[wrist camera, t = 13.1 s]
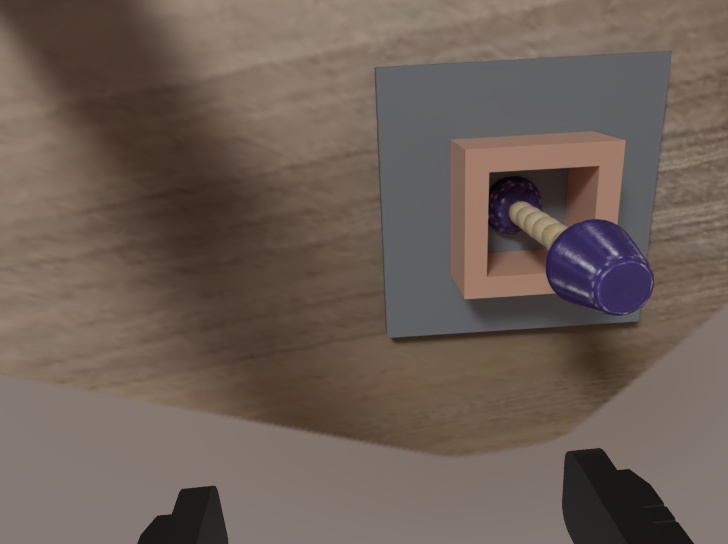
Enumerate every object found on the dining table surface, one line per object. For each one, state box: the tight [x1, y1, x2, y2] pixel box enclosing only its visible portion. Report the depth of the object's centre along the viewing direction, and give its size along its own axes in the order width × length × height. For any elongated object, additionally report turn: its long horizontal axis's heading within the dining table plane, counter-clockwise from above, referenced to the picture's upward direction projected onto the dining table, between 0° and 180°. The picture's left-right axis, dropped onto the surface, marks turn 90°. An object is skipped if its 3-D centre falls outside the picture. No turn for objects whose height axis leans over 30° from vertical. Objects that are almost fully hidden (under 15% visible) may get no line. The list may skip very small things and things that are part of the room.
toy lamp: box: [488, 176, 654, 316], centre depth 34 cm, size 5×5×17 cm
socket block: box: [375, 51, 672, 338], centre depth 40 cm, size 20×20×6 cm
